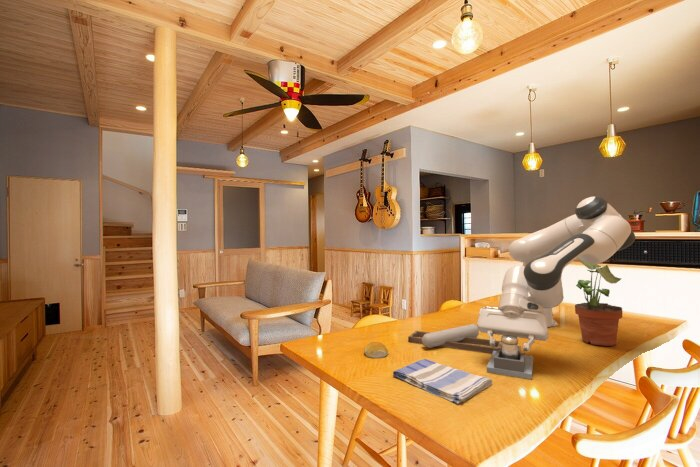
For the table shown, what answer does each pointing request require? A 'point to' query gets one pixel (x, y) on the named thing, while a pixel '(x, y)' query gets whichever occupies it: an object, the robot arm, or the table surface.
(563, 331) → the table surface
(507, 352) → the clear cylindrical piece
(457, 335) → the tube
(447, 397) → the dish towel
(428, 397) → the table surface
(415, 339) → the tube tray
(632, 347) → the table surface
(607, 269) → the potted plant
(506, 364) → the plate
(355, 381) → the table surface
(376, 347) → the bread roll
